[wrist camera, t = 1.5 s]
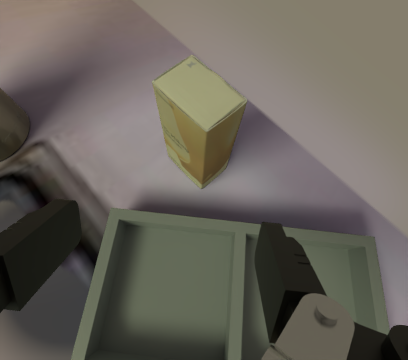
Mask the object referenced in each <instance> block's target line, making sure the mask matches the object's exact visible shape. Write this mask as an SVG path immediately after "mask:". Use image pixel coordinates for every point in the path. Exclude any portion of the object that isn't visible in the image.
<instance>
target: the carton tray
mask: <svg viewBox="0 0 408 360" xmlns="http://www.w3.org/2000/svg"><path fill="white" fill-rule="evenodd" d="M260 227H261V224H253V223H244V222H235V221H226V220H217V219H208V218H199V217H190V216H181V215H172V214H163V213H154V212H145V211H136V210H127V209H118V208H111V210H110V214H109V218H108V221H107V225H106V229H105V233H104V236H103V240H102V244H101V248H100V252H99V255H98V259H97V263H96V267H95V270H94V274H93V278H92V282H91V286H90V289H89V293H88V297H87V301H86V305H85V308H84V312H83V316H82V320H81V323H80V327H79V331H78V335H77V338H76V343H75V346H74V350H73V354H72V357H71V360H261V359H262V357H263V355H264V354H265V352H266V351H267V349H268V348H269V346H270V345H273V346H274V345H275V343H269V339H268V333H267V328H266V323H265V317H264V312H263V307H262V302H261V296H260V291H259V286H258V281H257V275H256V270H255V263H254V258H255V250H256V245H257V241H258V236H259V231H260ZM283 230H284V232H285V234H286V237H293V238H294V239H295V240H296V241H297V242H299V243H300V244H301V245H302V247H303V249H304V251H305V253H306V255H307V257H308V259H309V261H310V263H311V266H312V267H313V269H314V271H315V273H316V275H317V277H318V279H319V281H320V283H321V285H322V287H323V289H324V291H325V293H326V295H327V297H330V298H332V299H333V300H335V301H337V302H338V303H339V304H341V305H342V306H343V307H344V308H345V309H346V310H347V311H348V313H349V314H350V316H351V317H352V319H353V321H354V322H356V323H358V324H360V325H363V326H365V327H368V328H370V329H373V330H376V331H378V332H381V333H383V334H386V335H388V333H389V331H390V330H389V323H388V317H387V311H386V305H385V299H384V293H383V287H382V281H381V275H380V269H379V262H378V256H377V250H376V244H375V238H374V237H371V236H362V235H353V234H344V233H335V232H326V231H317V230H308V229H299V228H290V227H283Z"/></svg>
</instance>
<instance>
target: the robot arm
mask: <svg viewBox="0 0 408 360" xmlns="http://www.w3.org/2000/svg"><path fill="white" fill-rule="evenodd" d="M29 126H30V122H29V118H28V116H27V114H26V112H25V111H24V110H23V109H21V108H20V107H19V106H18V105H17V104H16V103H15V102H14V101H13V100H12V99H11V98H10V97H9V96H8V95H7V94H6V93H5V92H4V91H3V90H2V89H1V88H0V161H1V160H3V159H5V158H7V157H8V156H10V155H12V154H13V153H14V152H15V151H16V150H18V148H19V147H20V146H21V145H22V144H23V142H24V141H25V139H26V137H27V135H28V132H29ZM81 232H82V231H81V223H80V216H79V208H78V204H77V202H76V201H74V200H65V199H54V200H53V201H51V202H50V203H49V204H47V205H46V206H44V207H43V208H41V209H39V210H37V211H34V212H32V213H29V214H27V215H26V216H24V217H23V218H21V219H20V220H18V221H17V223H14V224H13V225H11V226H10V227H8V228H7V230H4V231H2V232H1V233H0V313H1V311H2V310H3V309H7V310H15V311H20V310H21V309H22V308H23V307H24V305H25V304H26V303H27V302H28V301H29V300H30V299H31V297H32V296H33V295H34V294H35V293H36V292H37V291H38V289H39V288H40V287H41V286H42V285H43V284H44V283H45V281H46V280H47V279H48V278H49V277H50V276H51V275H52V273H53V272H54V271H55V270H56V269H57V268H58V267H59V265H60V264H61V263H62V262H63V261H64V260H65V259H66V257H67V256H68V255H69V254H70V253H71V252H72V251H73V249H74V248H75V247H76V246H77V245H78V243H79V241H80V238H81ZM254 263H255V270H256V275H257V281H258V286H259V291H260V296H261V302H262V307H263V312H264V317H265V323H266V328H267V333H268V339H269V343H275V345H274V346H273V345H270V346H269V348H268V349H267V351H266V352H265V354H264V355H263V357H262V359H261V360H408V326H405V325H396V326H393V327H392V328H391V330H390V331H389V333H388V335H386V334H383V333H381V332H378V331H376V330H373V329H370V328H368V327H365V326H363V325H360V324H358V323H356V322H354V321H353V319H352V317H351V316H350V314H349V313H348V311H347V310H346V309H345V308H344V307H343V306H342V305H341V304H339V303H338V302H337V301H335V300H333V299H332V298H330V297H327V295H326V293H325V291H324V289H323V287H322V285H321V283H320V281H319V279H318V277H317V275H316V273H315V271H314V269H313V267H312V266H311V263H310V261H309V259H308V257H307V255H306V253H305V251H304V249H303V247H302V245H301V244H300V243H299V242H297V241H296V240H295V239H294V238H293V237H286V234H285V232H284V230H283V227H282V225H281V224H277V223H268V222H262V224H261V227H260V231H259V236H258V241H257V245H256V250H255V258H254Z"/></svg>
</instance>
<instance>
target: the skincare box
mask: <svg viewBox="0 0 408 360" xmlns="http://www.w3.org/2000/svg"><path fill="white" fill-rule="evenodd" d="M152 84H153V88H154V92H155V97H156V101H157V106H158V110H159V115H160V119H161V124H162V129H163V134H164V138H165V143H166V147H167V152H168V156H169V157H170V158H171V159H172V160H173V162H174V163H175V164H176V165H177V166H178V167H179V168H180V169H181V170H182V171H183V172H184V173H185V174H186V175H187V176H188V177H189V178H190V179H191V180H192V181H193V182H194V183H195V184H196V185H197V186H198V187H199V188H201V189H203V188H204V187H205V186H206V185H208V184H209V183H210V182H211V181H212V180H214V179H215V178H216V177H217V176H218V175H219V174H220V173H222V172H223V171H224V170H225V169H226V167H227V164H228V160H229V157H230V154H231V151H232V148H233V145H234V141H235V138H236V135H237V132H238V129H239V125H240V122H241V119H242V116H243V113H244V110H245V106H246V103H247V99H246V98H245V97H244V96H242V95H241V94H240V93H239V92H237V91H236V90H235V89H234V88H233V87H231V86H230V85H229V84H228V83H227V82H226V81H224V80H223V79H222V78H221V77H220V76H219V75H218V74H216V73H215V72H213V71H212V70H211V69H209V68H208V67H207V66H206V65H204V64H203V63H202V62H201V61H200V60H198V59H197V58H196V57H195V56H194V55H190V56H189V57H187V58H186V59H184V60H183V61H181V62H180V63H178V64H176V65H175V66H173V67H172V68H170V69H169V70H167V71H166V72H164V73H163V74H161V75H160V76H159V77H157V78H156V79H154V80H153V81H152Z"/></svg>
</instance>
